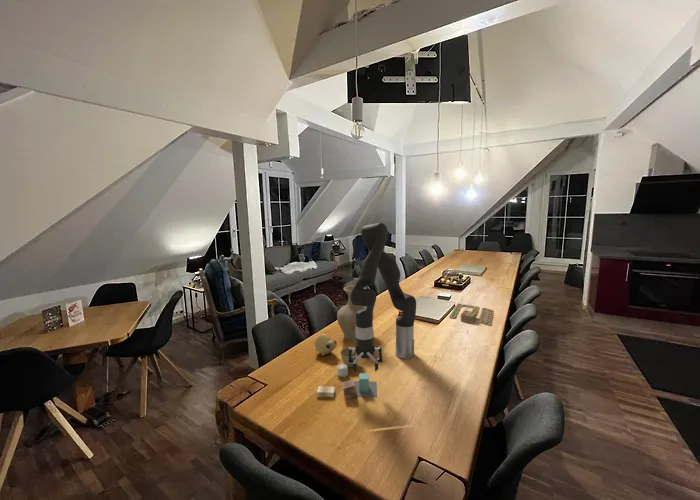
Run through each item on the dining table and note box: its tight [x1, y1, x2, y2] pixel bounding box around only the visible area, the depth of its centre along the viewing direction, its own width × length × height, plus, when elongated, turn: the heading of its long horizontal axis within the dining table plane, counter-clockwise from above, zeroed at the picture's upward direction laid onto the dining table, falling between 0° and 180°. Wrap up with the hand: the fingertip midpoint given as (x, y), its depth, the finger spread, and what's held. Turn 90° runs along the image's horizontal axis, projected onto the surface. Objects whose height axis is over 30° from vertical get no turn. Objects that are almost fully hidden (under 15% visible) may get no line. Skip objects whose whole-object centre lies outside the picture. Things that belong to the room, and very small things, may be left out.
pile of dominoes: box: [448, 303, 494, 327], centre depth 213 cm, size 35×27×6 cm
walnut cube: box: [341, 378, 358, 400], centre depth 125 cm, size 5×5×5 cm
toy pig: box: [314, 333, 338, 357], centre depth 160 cm, size 10×12×11 cm
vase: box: [336, 284, 367, 342], centre depth 179 cm, size 22×22×30 cm
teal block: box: [358, 373, 370, 392], centre depth 128 cm, size 4×4×6 cm
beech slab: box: [316, 385, 336, 398], centre depth 126 cm, size 7×4×3 cm, turn 86°
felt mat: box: [354, 380, 378, 398], centre depth 129 cm, size 11×11×1 cm
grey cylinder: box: [336, 363, 349, 378], centre depth 140 cm, size 5×5×4 cm
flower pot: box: [339, 346, 359, 369], centre depth 149 cm, size 10×10×7 cm
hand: (365, 370), depth 127 cm, fingers open, 8 cm apart
